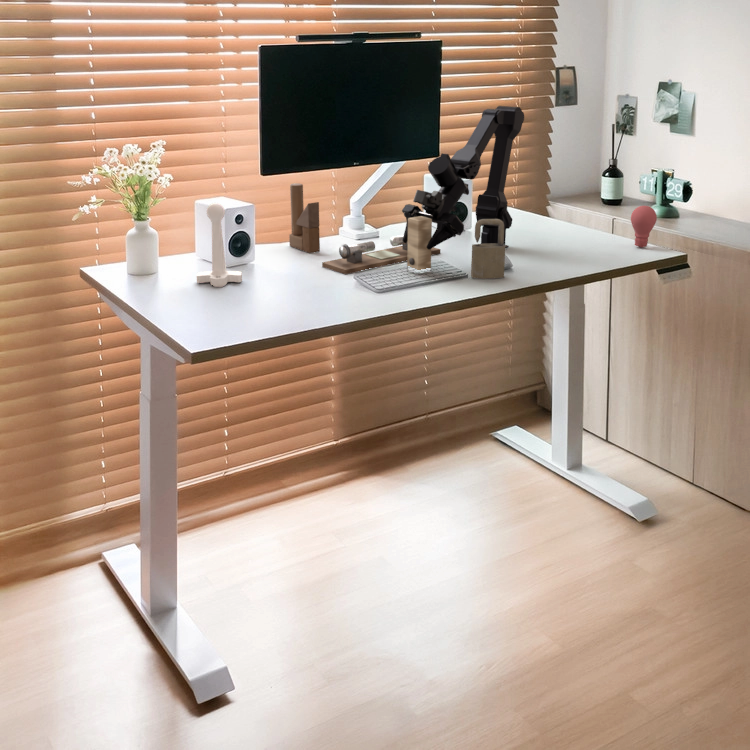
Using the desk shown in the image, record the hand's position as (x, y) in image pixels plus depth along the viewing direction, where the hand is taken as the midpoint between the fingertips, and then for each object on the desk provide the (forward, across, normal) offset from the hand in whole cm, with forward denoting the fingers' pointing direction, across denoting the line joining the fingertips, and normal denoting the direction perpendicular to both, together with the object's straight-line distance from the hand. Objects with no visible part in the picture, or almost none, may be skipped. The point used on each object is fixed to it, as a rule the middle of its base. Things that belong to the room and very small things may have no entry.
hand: (415, 245), depth 253 cm
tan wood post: (+4, 0, +6) cm, 7 cm away
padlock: (-3, +15, +13) cm, 20 cm away
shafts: (+3, -15, +5) cm, 16 cm away
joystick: (+37, -24, -26) cm, 51 cm away
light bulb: (-42, +22, +53) cm, 71 cm away
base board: (+4, -15, +6) cm, 17 cm away
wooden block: (+10, -39, 0) cm, 40 cm away
